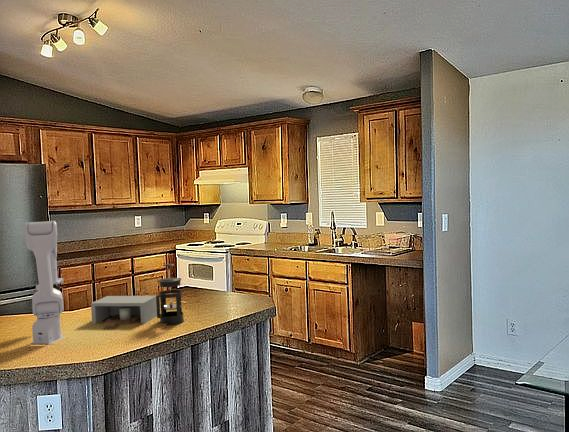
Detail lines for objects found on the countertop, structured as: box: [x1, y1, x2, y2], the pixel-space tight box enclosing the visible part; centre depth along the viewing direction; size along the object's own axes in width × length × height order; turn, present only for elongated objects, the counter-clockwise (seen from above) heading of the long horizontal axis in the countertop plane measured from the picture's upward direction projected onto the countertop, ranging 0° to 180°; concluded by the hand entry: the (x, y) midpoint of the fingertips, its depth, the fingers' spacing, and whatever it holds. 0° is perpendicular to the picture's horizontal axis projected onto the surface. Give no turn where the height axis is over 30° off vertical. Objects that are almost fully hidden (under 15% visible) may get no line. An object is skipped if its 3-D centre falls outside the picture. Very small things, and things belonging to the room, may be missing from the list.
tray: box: [103, 315, 141, 330], centre depth 204 cm, size 17×11×2 cm, turn 171°
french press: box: [155, 263, 185, 326], centre depth 203 cm, size 12×9×23 cm
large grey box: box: [90, 295, 157, 325], centre depth 209 cm, size 13×22×9 cm, turn 81°
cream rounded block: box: [119, 307, 131, 320], centre depth 209 cm, size 4×4×4 cm
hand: (51, 305), depth 200 cm, fingers closed
